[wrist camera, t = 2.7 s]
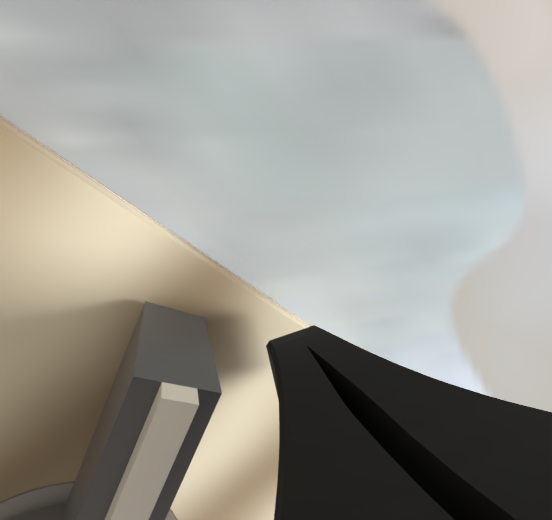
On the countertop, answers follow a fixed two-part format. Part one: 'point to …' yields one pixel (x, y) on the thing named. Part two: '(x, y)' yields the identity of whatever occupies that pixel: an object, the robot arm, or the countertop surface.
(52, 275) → the tuner board
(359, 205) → the countertop surface
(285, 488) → the robot arm
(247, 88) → the countertop surface
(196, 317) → the peg dial
